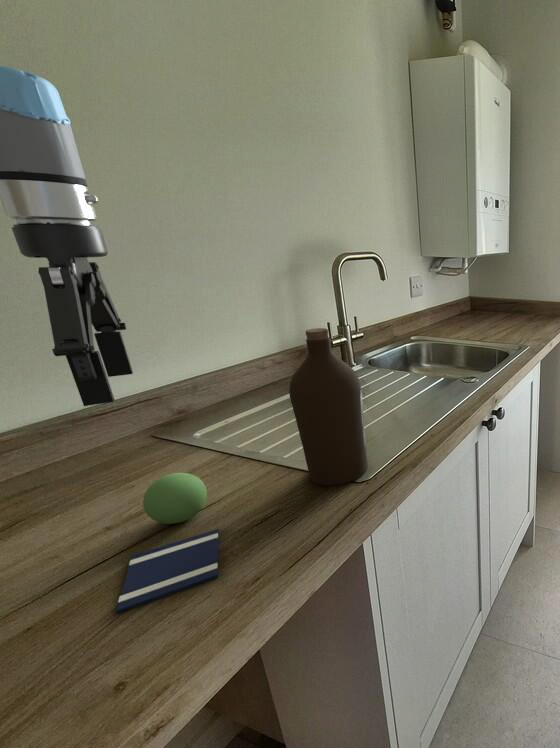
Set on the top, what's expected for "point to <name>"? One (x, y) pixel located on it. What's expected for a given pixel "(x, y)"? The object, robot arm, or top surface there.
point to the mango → (175, 498)
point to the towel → (170, 569)
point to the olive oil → (329, 413)
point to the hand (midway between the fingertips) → (111, 388)
